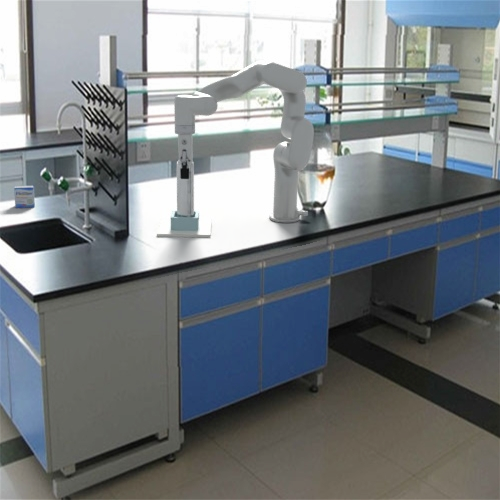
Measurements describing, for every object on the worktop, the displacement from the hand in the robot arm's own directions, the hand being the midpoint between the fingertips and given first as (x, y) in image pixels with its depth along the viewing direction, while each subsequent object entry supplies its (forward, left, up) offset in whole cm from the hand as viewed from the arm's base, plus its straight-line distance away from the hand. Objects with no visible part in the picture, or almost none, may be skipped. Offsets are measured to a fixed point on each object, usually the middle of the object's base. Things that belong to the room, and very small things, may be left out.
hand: (185, 176), depth 273 cm
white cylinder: (0, 0, -19) cm, 19 cm away
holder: (0, 0, -21) cm, 21 cm away
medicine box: (+69, -30, -21) cm, 78 cm away
